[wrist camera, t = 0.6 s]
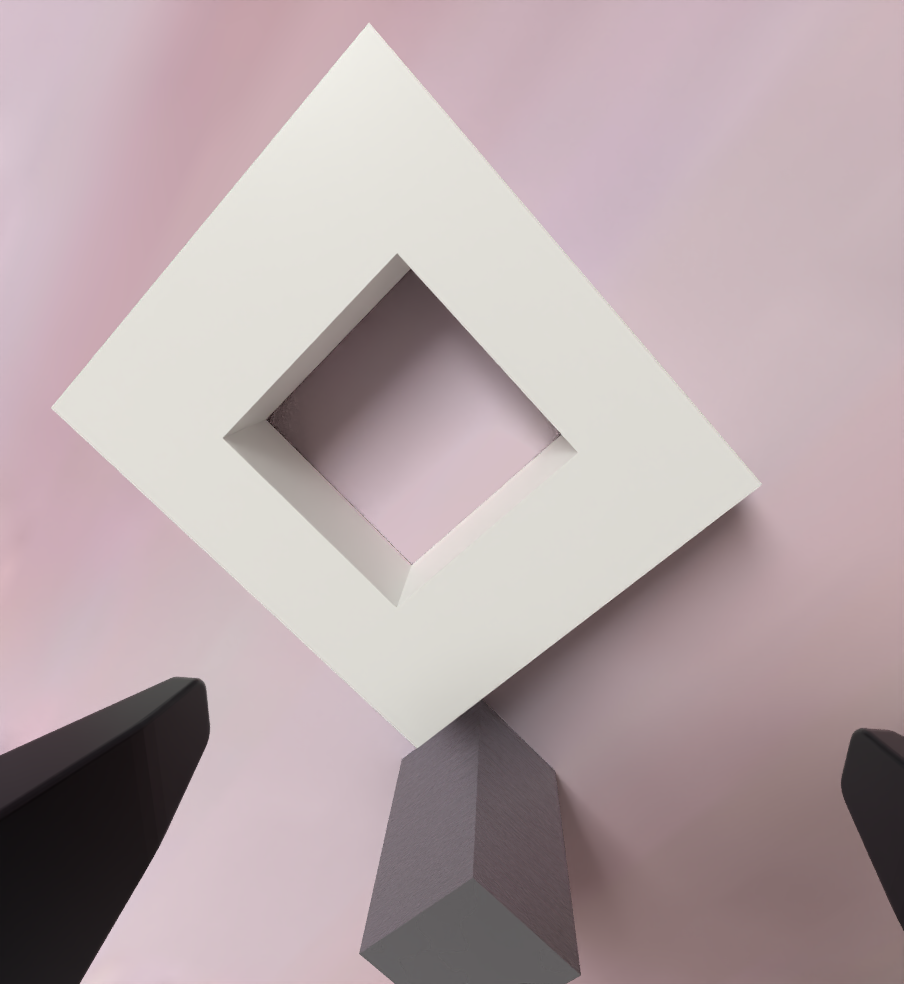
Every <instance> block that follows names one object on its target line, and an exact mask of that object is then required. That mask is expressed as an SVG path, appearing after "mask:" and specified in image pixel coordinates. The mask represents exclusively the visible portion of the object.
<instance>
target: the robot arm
mask: <svg viewBox="0 0 904 984" xmlns="http://www.w3.org/2000/svg"><path fill="white" fill-rule="evenodd" d="M209 734H210V721H209V711H208V701H207V691H206V686H205V683H204V682H203V681H202V680H201V679H199V678H187V677H173V678H170V679H168V680H166V681H164V682H161V683H159V684H157V685H155V686H153V687H150V688H148V689H146V690H144V691H141V692H139V693H137V694H135V695H133V696H130V697H128V698H126V699H124V700H122V701H119V702H117V703H115V704H113V705H111V706H108V707H106V708H104V709H102V710H99V711H97V712H95V713H93V714H91V715H88V716H86V717H84V718H82V719H80V720H77V721H75V722H73V723H71V724H69V725H66V726H64V727H62V728H60V729H57V730H55V731H53V732H51V733H49V734H46V735H44V736H42V737H40V738H38V739H35V740H33V741H31V742H29V743H26V744H24V745H22V746H20V747H18V748H15V749H13V750H11V751H9V752H7V753H4V754H2V755H0V984H80V982H81V980H82V979H83V977H84V975H85V974H86V972H87V970H88V968H89V967H90V965H91V963H92V962H93V960H94V958H95V957H96V955H97V953H98V951H99V950H100V948H101V946H102V945H103V943H104V941H105V939H106V938H107V936H108V934H109V933H110V931H111V929H112V927H113V926H114V924H115V922H116V921H117V919H118V917H119V915H120V914H121V912H122V910H123V909H124V907H125V905H126V903H127V902H128V900H129V898H130V897H131V895H132V893H133V891H134V890H135V888H136V886H137V885H138V883H139V881H140V879H141V878H142V876H143V874H144V873H145V871H146V869H147V868H148V866H149V864H150V862H151V860H152V859H153V857H154V855H155V853H156V851H157V850H158V848H159V846H160V844H161V842H162V840H163V838H164V836H165V834H166V832H167V830H168V828H169V826H170V823H171V821H172V819H173V817H174V815H175V813H176V810H177V808H178V806H179V804H180V802H181V800H182V797H183V795H184V793H185V791H186V789H187V787H188V784H189V782H190V780H191V778H192V776H193V774H194V771H195V769H196V767H197V765H198V763H199V761H200V758H201V756H202V754H203V752H204V750H205V748H206V745H207V742H208V739H209ZM841 788H842V794H843V797H844V800H845V803H846V805H847V807H848V809H849V812H850V814H851V816H852V818H853V821H854V823H855V825H856V827H857V830H858V832H859V834H860V836H861V839H862V841H863V843H864V846H865V848H866V850H867V852H868V855H869V857H870V859H871V861H872V864H873V866H874V868H875V870H876V873H877V875H878V877H879V879H880V882H881V884H882V886H883V888H884V891H885V893H886V895H887V898H888V900H889V902H890V904H891V906H892V908H893V910H894V912H895V914H896V916H897V919H898V921H899V922H900V924H901V926H902V928H903V930H904V737H903V736H901V735H899V734H897V733H895V732H893V731H890V730H881V729H867V728H860V729H858V730H856V731H855V732H854V733H853V734H852V737H851V740H850V744H849V748H848V752H847V757H846V761H845V765H844V769H843V773H842V778H841Z"/></svg>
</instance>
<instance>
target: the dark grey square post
mask: <svg viewBox="0 0 904 984" xmlns="http://www.w3.org/2000/svg"><path fill="white" fill-rule="evenodd" d="M359 954H360V955H361V956H363V957H364V958H365V959H366V960H367V961H369V962H370V963H371V964H372V965H373V966H374V967H376V968H377V969H378V970H379V971H380V972H382V973H383V974H384V975H385V976H386V977H388V978H389V979H390V980H391V981H392V982H394V983H395V984H567V983H568V982H570V981H572V980H574V979H575V978H577V977H579V976H580V975H581V972H580V965H579V957H578V949H577V941H576V933H575V925H574V917H573V909H572V901H571V893H570V886H569V878H568V870H567V862H566V854H565V846H564V838H563V830H562V822H561V814H560V807H559V799H558V791H557V783H556V775H555V771H554V770H553V769H552V768H551V767H550V766H549V765H548V764H547V763H546V762H545V761H544V760H543V759H542V758H541V757H540V756H539V755H538V754H537V753H536V752H535V751H534V750H533V749H532V748H531V747H530V746H529V745H528V744H527V743H526V742H525V741H524V740H523V739H522V738H520V737H519V736H518V735H517V734H516V733H515V732H514V731H513V730H512V729H511V728H510V727H509V726H508V725H507V724H506V723H505V722H504V721H503V720H502V719H501V718H500V717H499V716H498V715H497V714H496V713H495V712H494V711H493V710H492V709H491V708H490V707H489V706H488V705H487V704H485V703H484V702H483V701H482V700H480V701H478V702H477V703H476V704H475V705H473V706H472V707H471V708H469V709H468V710H467V711H465V712H464V713H463V714H462V715H460V716H459V717H458V718H456V719H455V720H454V721H452V722H451V723H450V724H448V725H447V726H446V727H445V728H443V729H442V730H441V731H439V732H438V733H437V734H435V735H434V736H433V737H431V738H430V739H429V740H428V741H426V742H425V743H424V744H422V745H421V746H420V747H418V748H416V749H415V750H414V751H412V752H411V753H410V754H408V755H407V756H406V757H405V758H403V759H402V762H401V766H400V771H399V775H398V780H397V784H396V789H395V793H394V798H393V803H392V807H391V812H390V816H389V821H388V825H387V830H386V834H385V839H384V844H383V848H382V853H381V857H380V862H379V866H378V871H377V875H376V880H375V885H374V889H373V894H372V898H371V903H370V907H369V912H368V917H367V921H366V926H365V930H364V935H363V939H362V944H361V948H360V953H359Z"/></svg>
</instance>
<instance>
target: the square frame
mask: <svg viewBox="0 0 904 984" xmlns="http://www.w3.org/2000/svg"><path fill="white" fill-rule="evenodd" d="M410 269H412V270H413V271H414V272H415V273H416V274H417V276H418V277H419V278H420V279H421V280H422V281H423V282H424V283H425V284H426V286H427V287H428V288H429V289H430V290H431V291H432V292H433V293H434V294H435V295H436V297H437V298H438V299H439V300H440V301H441V302H442V303H443V304H444V305H445V306H446V308H447V309H448V310H449V311H450V312H451V313H452V314H453V315H454V316H455V318H456V319H457V320H458V321H459V322H460V323H461V324H462V325H463V326H464V327H465V329H466V330H467V331H468V332H469V333H470V334H471V335H472V336H473V337H474V338H475V340H476V341H477V342H478V343H479V344H480V345H481V346H482V347H483V348H484V350H485V351H486V352H487V353H488V354H489V355H490V356H491V357H492V358H493V359H494V361H495V362H496V363H497V364H498V365H499V366H500V367H501V368H502V369H503V370H504V372H505V373H506V374H507V375H508V376H509V377H510V378H511V379H512V380H513V382H514V383H515V384H516V385H517V386H518V387H519V388H520V389H521V390H522V391H523V393H524V394H525V395H526V396H527V397H528V398H529V399H530V400H531V401H532V402H533V404H534V405H535V406H536V407H537V408H538V409H539V410H540V411H541V412H542V414H543V415H544V416H545V417H546V418H547V419H548V420H549V421H550V422H551V423H552V425H553V426H554V427H555V428H556V429H557V430H558V431H559V432H560V433H561V435H560V436H559V437H558V438H557V439H556V440H555V441H553V442H552V443H551V444H550V445H549V446H548V447H547V448H545V449H544V450H543V451H542V452H541V453H540V454H539V455H537V456H536V457H535V458H534V459H533V460H532V461H531V462H529V463H528V464H527V465H526V466H525V467H524V468H522V469H521V470H520V471H519V472H518V473H517V474H516V475H514V476H513V477H512V478H511V479H510V480H509V481H508V482H506V483H505V484H504V485H503V486H502V487H501V488H500V489H498V490H497V491H496V492H495V493H494V494H493V495H492V496H490V497H489V498H488V499H487V500H486V501H485V502H483V503H482V504H481V505H480V506H479V507H478V508H477V509H475V510H474V511H473V512H472V513H471V514H470V515H469V516H467V517H466V518H465V519H464V520H463V521H462V522H461V523H459V524H458V525H457V526H456V527H455V528H454V529H453V530H451V531H450V532H449V533H448V534H447V535H446V536H445V537H443V538H442V539H441V540H440V541H439V542H438V543H436V544H435V545H434V546H433V547H432V548H431V549H430V550H428V551H427V552H426V553H425V554H424V555H423V556H422V557H420V558H419V559H418V560H417V561H416V562H415V563H414V564H412V565H411V564H410V563H409V562H408V561H407V560H406V559H405V558H404V557H403V556H402V555H401V554H400V553H399V552H398V551H397V550H396V549H395V548H394V547H393V546H392V545H391V544H390V543H389V542H388V541H387V540H386V539H385V538H384V537H383V536H382V535H381V534H380V533H379V532H378V531H377V530H376V529H375V528H374V527H373V526H372V525H371V524H370V523H369V522H368V521H367V520H366V519H365V518H364V517H363V516H362V515H361V514H360V513H359V512H358V511H357V510H356V509H355V508H354V507H353V506H352V505H351V504H350V503H349V502H348V501H347V500H346V499H345V498H344V497H343V496H342V495H341V494H340V493H339V492H338V491H337V490H336V489H335V488H334V487H333V486H332V485H331V484H330V483H329V482H328V481H327V480H326V479H325V478H324V477H323V476H322V475H321V474H320V473H319V472H318V471H317V470H316V469H315V468H314V467H313V466H312V465H311V464H310V463H309V462H308V461H307V460H306V459H305V458H304V457H303V456H302V455H301V454H300V453H299V452H298V451H297V450H296V449H295V448H294V447H293V446H292V445H291V444H290V443H289V442H288V441H287V440H286V439H285V438H284V437H283V436H282V435H281V434H280V433H279V432H278V431H277V430H276V429H275V428H274V427H273V426H272V425H271V424H270V423H269V422H268V421H267V420H266V419H267V418H268V417H269V416H270V415H271V414H272V413H273V412H274V411H275V410H276V409H277V408H278V407H279V406H280V404H281V403H282V402H283V401H284V400H285V399H286V398H287V397H288V396H289V395H290V394H291V393H292V392H293V391H294V390H295V389H296V388H297V387H298V386H299V385H300V384H301V383H302V382H303V381H304V379H305V378H306V377H307V376H308V375H309V374H310V373H311V372H312V371H313V370H314V369H315V368H316V367H317V366H318V365H319V364H320V363H321V362H322V361H323V360H324V359H325V358H326V357H327V355H328V354H329V353H330V352H331V351H332V350H333V349H334V348H335V347H336V346H337V345H338V344H339V343H340V342H341V341H342V340H343V339H344V338H345V337H346V336H347V335H348V334H349V333H350V332H351V330H352V329H353V328H354V327H355V326H356V325H357V324H358V323H359V322H360V321H361V320H362V319H363V318H364V317H365V316H366V315H367V314H368V313H369V312H370V311H371V310H372V309H373V308H374V307H375V305H376V304H377V303H378V302H379V301H380V300H381V299H382V298H383V297H384V296H385V295H386V294H387V293H388V292H389V291H390V290H391V289H392V288H393V287H394V286H395V285H396V284H397V283H398V282H399V280H400V279H401V278H402V277H403V276H404V275H405V274H406V273H407V272H408V271H409V270H410ZM51 408H52V409H53V410H54V411H55V412H56V413H57V414H58V415H59V416H60V417H61V418H62V419H63V420H64V421H65V422H67V423H68V424H69V425H70V426H71V427H72V428H73V429H74V430H75V431H76V432H77V433H78V434H79V435H81V436H82V437H83V438H84V439H85V440H86V441H87V442H88V443H89V444H90V445H91V446H92V447H93V448H94V449H96V450H97V451H98V452H99V453H100V454H101V455H102V456H103V457H104V458H105V459H106V460H107V461H108V462H110V463H111V464H112V465H113V466H114V467H115V468H116V469H117V470H118V471H119V472H120V473H121V474H122V475H123V476H125V477H126V478H127V479H128V480H129V481H130V482H131V483H132V484H133V485H134V486H135V487H136V488H137V489H139V490H140V491H141V492H142V493H143V494H144V495H145V496H146V497H147V498H148V499H149V500H150V501H151V502H152V503H154V504H155V505H156V506H157V507H158V508H159V509H160V510H161V511H162V512H163V513H164V514H165V515H166V516H168V517H169V518H170V519H171V520H172V521H173V522H174V523H175V524H176V525H177V526H178V527H179V528H180V529H182V530H183V531H184V532H185V533H186V534H187V535H188V536H189V537H190V538H191V539H192V540H193V541H194V542H195V543H197V544H198V545H199V546H200V547H201V548H202V549H203V550H204V551H205V552H206V553H207V554H208V555H209V556H211V557H212V558H213V559H214V560H215V561H216V562H217V563H218V564H219V565H220V566H221V567H222V568H223V569H224V570H226V571H227V572H228V573H229V574H230V575H231V576H232V577H233V578H234V579H235V580H236V581H237V582H238V583H240V584H241V585H242V586H243V587H244V588H245V589H246V590H247V591H248V592H249V593H250V594H251V595H252V596H253V597H255V598H256V599H257V600H258V601H259V602H260V603H261V604H262V605H263V606H264V607H265V608H266V609H267V610H269V611H270V612H271V613H272V614H273V615H274V616H275V617H276V618H277V619H278V620H279V621H280V622H281V623H282V624H284V625H285V626H286V627H287V628H288V629H289V630H290V631H291V632H292V633H293V634H294V635H295V636H296V637H298V638H299V639H300V640H301V641H302V642H303V643H304V644H305V645H306V646H307V647H308V648H309V649H310V650H311V651H313V652H314V653H315V654H316V655H317V656H318V657H319V658H320V659H321V660H322V661H323V662H324V663H325V664H327V665H328V666H329V667H330V668H331V669H332V670H333V671H334V672H335V673H336V674H337V675H338V676H339V677H340V678H342V679H343V680H344V681H345V682H346V683H347V684H348V685H349V686H350V687H351V688H352V689H353V690H354V691H356V692H357V693H358V694H359V695H360V696H361V697H362V698H363V699H364V700H365V701H366V702H367V703H368V704H370V705H371V706H372V707H373V708H374V709H375V710H376V711H377V712H378V713H379V714H380V715H381V716H382V717H383V718H385V719H386V720H387V721H388V722H389V723H390V724H391V725H392V726H393V727H394V728H395V729H396V730H397V731H399V732H400V733H401V734H402V735H403V736H404V737H405V738H406V739H407V740H408V741H409V742H410V743H411V744H412V745H414V746H415V747H416V748H418V747H420V746H421V745H422V744H424V743H425V742H426V741H428V740H429V739H430V738H431V737H433V736H434V735H435V734H437V733H438V732H439V731H441V730H442V729H443V728H445V727H446V726H447V725H448V724H450V723H451V722H452V721H454V720H455V719H456V718H458V717H459V716H460V715H462V714H463V713H464V712H465V711H467V710H468V709H469V708H471V707H472V706H473V705H475V704H476V703H477V702H478V701H480V700H481V699H482V698H484V697H485V696H486V695H488V694H489V693H490V692H492V691H493V690H494V689H495V688H497V687H498V686H499V685H501V684H502V683H503V682H505V681H506V680H507V679H509V678H510V677H511V676H512V675H514V674H515V673H516V672H518V671H519V670H520V669H522V668H523V667H524V666H526V665H527V664H528V663H529V662H531V661H532V660H533V659H535V658H536V657H537V656H539V655H540V654H541V653H543V652H544V651H545V650H546V649H548V648H549V647H550V646H552V645H553V644H554V643H556V642H557V641H558V640H560V639H561V638H562V637H563V636H565V635H566V634H567V633H569V632H570V631H571V630H573V629H574V628H575V627H577V626H578V625H579V624H580V623H582V622H583V621H584V620H586V619H587V618H588V617H590V616H591V615H592V614H594V613H595V612H596V611H597V610H599V609H600V608H601V607H603V606H604V605H605V604H607V603H608V602H609V601H611V600H612V599H613V598H614V597H616V596H617V595H618V594H620V593H621V592H622V591H624V590H625V589H626V588H628V587H629V586H630V585H631V584H633V583H634V582H635V581H637V580H638V579H639V578H641V577H642V576H643V575H645V574H646V573H647V572H648V571H650V570H651V569H652V568H654V567H655V566H656V565H658V564H659V563H660V562H662V561H663V560H664V559H665V558H667V557H668V556H669V555H671V554H672V553H673V552H675V551H676V550H677V549H679V548H680V547H681V546H682V545H684V544H685V543H686V542H688V541H689V540H690V539H692V538H693V537H694V536H696V535H697V534H698V533H699V532H701V531H702V530H703V529H705V528H706V527H707V526H709V525H710V524H711V523H713V522H714V521H715V520H716V519H718V518H719V517H720V516H722V515H723V514H724V513H726V512H727V511H728V510H729V509H731V508H732V507H733V506H735V505H736V504H737V503H739V502H740V501H741V500H743V499H744V498H745V497H746V496H748V495H749V494H750V493H752V492H753V491H754V490H756V489H757V488H758V487H760V486H761V485H762V484H761V483H760V481H759V480H758V479H757V478H756V477H755V475H754V474H753V473H752V472H751V471H750V470H749V468H748V467H747V466H746V465H745V464H744V463H743V461H742V460H741V459H740V458H739V457H738V456H737V454H736V453H735V452H734V451H733V450H732V448H731V447H730V446H729V445H728V444H727V443H726V441H725V440H724V439H723V438H722V437H721V436H720V434H719V433H718V432H717V431H716V430H715V428H714V427H713V426H712V425H711V424H710V423H709V421H708V420H707V419H706V418H705V417H704V416H703V414H702V413H701V412H700V411H699V410H698V409H697V407H696V406H695V405H694V404H693V403H692V401H691V400H690V399H689V398H688V397H687V396H686V394H685V393H684V392H683V391H682V390H681V389H680V387H679V386H678V385H677V384H676V383H675V382H674V380H673V379H672V378H671V377H670V376H669V374H668V373H667V372H666V371H665V370H664V369H663V367H662V366H661V365H660V364H659V363H658V362H657V360H656V359H655V358H654V357H653V356H652V354H651V353H650V352H649V351H648V350H647V349H646V347H645V346H644V345H643V344H642V343H641V342H640V340H639V339H638V338H637V337H636V336H635V335H634V333H633V332H632V331H631V330H630V329H629V327H628V326H627V325H626V324H625V323H624V322H623V320H622V319H621V318H620V317H619V316H618V315H617V313H616V312H615V311H614V310H613V309H612V308H611V306H610V305H609V304H608V303H607V302H606V300H605V299H604V298H603V297H602V296H601V295H600V293H599V292H598V291H597V290H596V289H595V288H594V286H593V285H592V284H591V283H590V282H589V280H588V279H587V278H586V277H585V276H584V275H583V273H582V272H581V271H580V270H579V269H578V268H577V266H576V265H575V264H574V263H573V262H572V261H571V259H570V258H569V257H568V256H567V255H566V253H565V252H564V251H563V250H562V249H561V248H560V246H559V245H558V244H557V243H556V242H555V241H554V239H553V238H552V237H551V236H550V235H549V233H548V232H547V231H546V230H545V229H544V228H543V226H542V225H541V224H540V223H539V222H538V221H537V219H536V218H535V217H534V216H533V215H532V214H531V212H530V211H529V210H528V209H527V208H526V206H525V205H524V204H523V203H522V202H521V201H520V199H519V198H518V197H517V196H516V195H515V194H514V192H513V191H512V190H511V189H510V188H509V187H508V185H507V184H506V183H505V182H504V181H503V179H502V178H501V177H500V176H499V175H498V174H497V172H496V171H495V170H494V169H493V168H492V167H491V165H490V164H489V163H488V162H487V161H486V159H485V158H484V157H483V156H482V155H481V154H480V152H479V151H478V150H477V149H476V148H475V147H474V145H473V144H472V143H471V142H470V141H469V140H468V138H467V137H466V136H465V135H464V134H463V132H462V131H461V130H460V129H459V128H458V127H457V125H456V124H455V123H454V122H453V121H452V120H451V118H450V117H449V116H448V115H447V114H446V112H445V111H444V110H443V109H442V108H441V107H440V105H439V104H438V103H437V102H436V101H435V100H434V98H433V97H432V96H431V95H430V94H429V93H428V91H427V90H426V89H425V88H424V87H423V85H422V84H421V83H420V82H419V81H418V80H417V78H416V77H415V76H414V75H413V74H412V73H411V71H410V70H409V69H408V68H407V67H406V66H405V64H404V63H403V62H402V61H401V60H400V58H399V57H398V56H397V55H396V54H395V53H394V51H393V50H392V49H391V48H390V47H389V46H388V44H387V43H386V42H385V41H384V40H383V38H382V37H381V36H380V35H379V34H378V33H377V31H376V30H375V29H374V28H373V27H372V26H371V24H370V23H368V24H367V26H366V27H365V28H364V29H363V31H362V32H361V33H360V34H359V35H358V37H357V38H356V39H355V40H354V41H353V43H352V44H351V45H350V46H349V47H348V49H347V50H346V51H345V52H344V54H343V55H342V56H341V57H340V58H339V60H338V61H337V62H336V63H335V64H334V66H333V67H332V68H331V69H330V71H329V72H328V73H327V74H326V75H325V77H324V78H323V79H322V80H321V81H320V83H319V84H318V85H317V86H316V87H315V89H314V90H313V91H312V92H311V94H310V95H309V96H308V97H307V98H306V100H305V101H304V102H303V103H302V104H301V106H300V107H299V108H298V109H297V110H296V112H295V113H294V114H293V115H292V117H291V118H290V119H289V120H288V121H287V123H286V124H285V125H284V126H283V127H282V129H281V130H280V131H279V132H278V134H277V135H276V136H275V137H274V138H273V140H272V141H271V142H270V143H269V144H268V146H267V147H266V148H265V149H264V150H263V152H262V153H261V154H260V155H259V157H258V158H257V159H256V160H255V161H254V163H253V164H252V165H251V166H250V167H249V169H248V170H247V171H246V172H245V174H244V175H243V176H242V177H241V178H240V180H239V181H238V182H237V183H236V184H235V186H234V187H233V188H232V189H231V190H230V192H229V193H228V194H227V195H226V197H225V198H224V199H223V200H222V201H221V203H220V204H219V205H218V206H217V207H216V209H215V210H214V211H213V212H212V213H211V215H210V216H209V217H208V218H207V220H206V221H205V222H204V223H203V224H202V226H201V227H200V228H199V229H198V230H197V232H196V233H195V234H194V235H193V237H192V238H191V239H190V240H189V241H188V243H187V244H186V245H185V246H184V247H183V249H182V250H181V251H180V252H179V253H178V255H177V256H176V257H175V258H174V260H173V261H172V262H171V263H170V264H169V266H168V267H167V268H166V269H165V270H164V272H163V273H162V274H161V275H160V277H159V278H158V279H157V280H156V281H155V283H154V284H153V285H152V286H151V287H150V289H149V290H148V291H147V292H146V293H145V295H144V296H143V297H142V298H141V300H140V301H139V302H138V303H137V304H136V306H135V307H134V308H133V309H132V310H131V312H130V313H129V314H128V315H127V317H126V318H125V319H124V320H123V321H122V323H121V324H120V325H119V326H118V327H117V329H116V330H115V331H114V332H113V333H112V335H111V336H110V337H109V338H108V340H107V341H106V342H105V343H104V344H103V346H102V347H101V348H100V349H99V350H98V352H97V353H96V354H95V355H94V356H93V358H92V359H91V360H90V361H89V363H88V364H87V365H86V366H85V367H84V369H83V370H82V371H81V372H80V373H79V375H78V376H77V377H76V378H75V380H74V381H73V382H72V383H71V384H70V386H69V387H68V388H67V389H66V390H65V392H64V393H63V394H62V395H61V396H60V398H59V399H58V400H57V401H56V403H55V404H54V405H53V406H52V407H51Z"/></svg>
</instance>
